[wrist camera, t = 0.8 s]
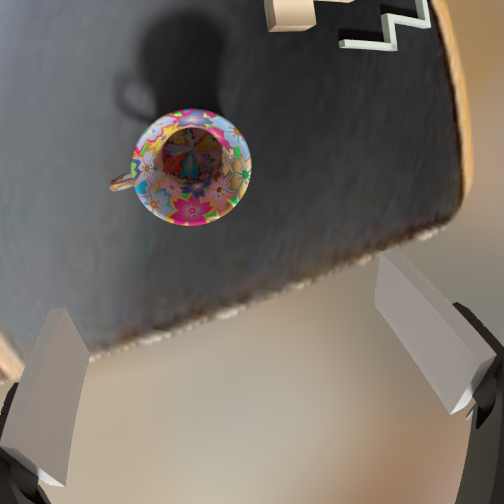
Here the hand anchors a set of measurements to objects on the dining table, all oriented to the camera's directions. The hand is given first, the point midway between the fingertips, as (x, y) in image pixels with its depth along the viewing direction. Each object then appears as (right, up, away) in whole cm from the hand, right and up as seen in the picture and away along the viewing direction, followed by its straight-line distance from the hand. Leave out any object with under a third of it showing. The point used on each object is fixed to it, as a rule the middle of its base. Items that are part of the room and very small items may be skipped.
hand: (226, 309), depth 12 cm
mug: (-7, +13, +20) cm, 25 cm away
